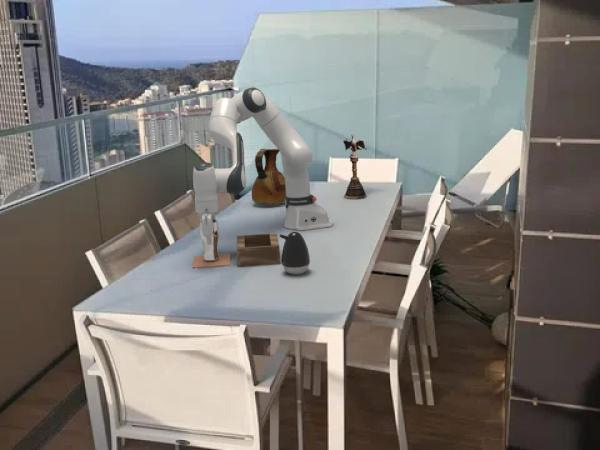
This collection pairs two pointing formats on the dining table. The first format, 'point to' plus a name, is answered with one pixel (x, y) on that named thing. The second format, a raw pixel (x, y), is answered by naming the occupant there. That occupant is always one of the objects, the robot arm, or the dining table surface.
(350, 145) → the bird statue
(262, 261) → the walnut box
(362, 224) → the dining table surface
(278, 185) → the ceramic pitcher
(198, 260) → the terracotta mat
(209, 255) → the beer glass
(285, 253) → the pump dispenser
